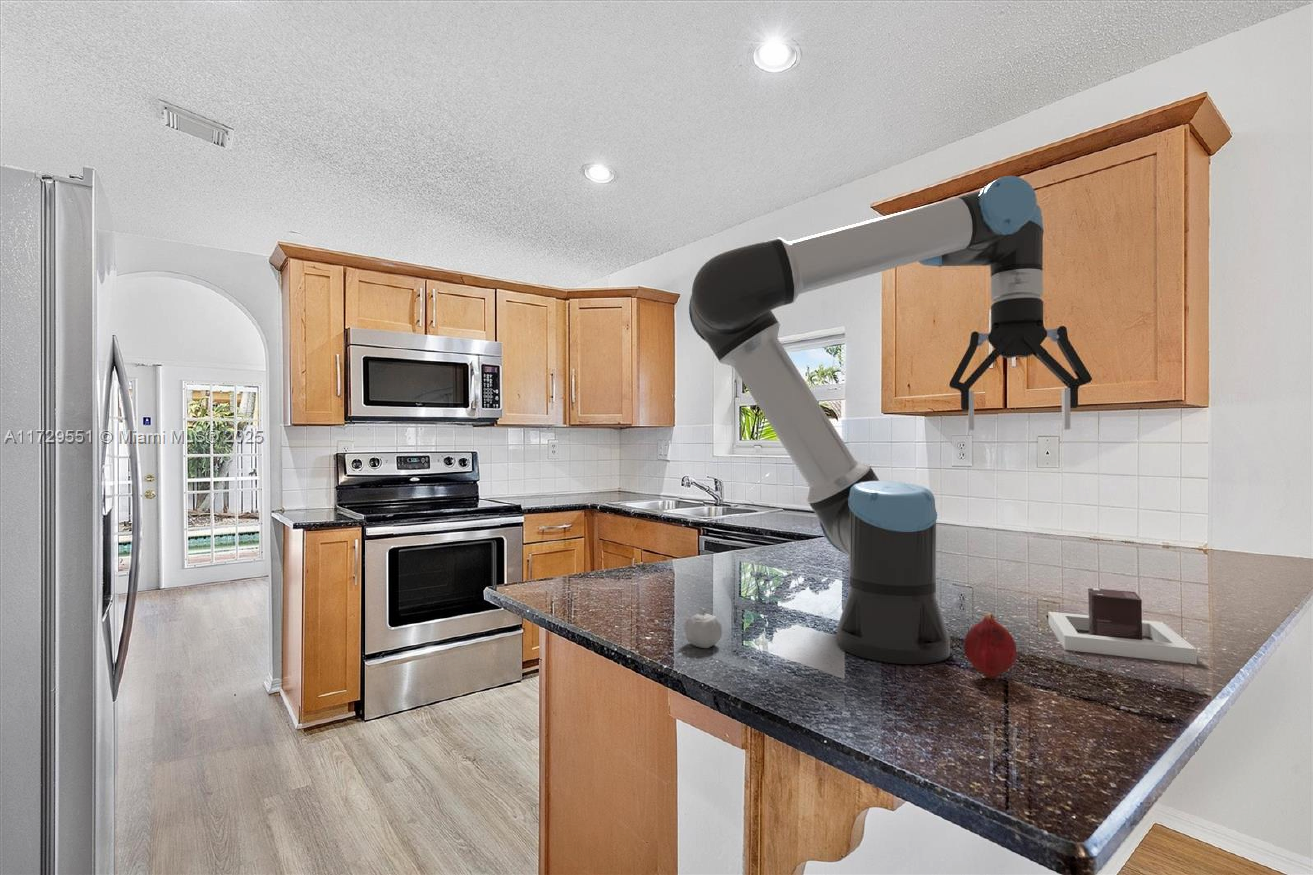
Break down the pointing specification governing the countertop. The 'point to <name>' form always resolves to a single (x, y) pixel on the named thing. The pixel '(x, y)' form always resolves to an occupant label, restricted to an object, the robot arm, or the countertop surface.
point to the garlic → (703, 630)
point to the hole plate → (1122, 640)
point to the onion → (990, 647)
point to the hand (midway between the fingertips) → (1017, 430)
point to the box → (1115, 613)
